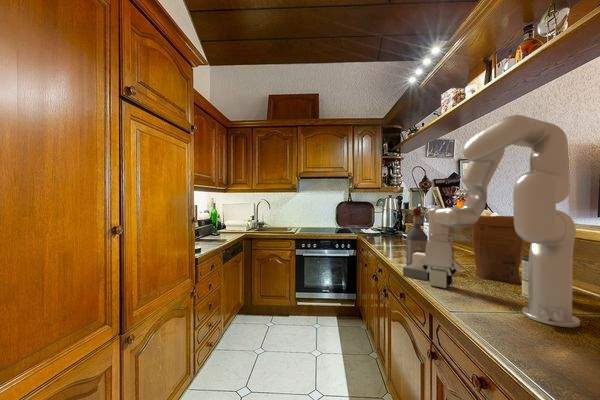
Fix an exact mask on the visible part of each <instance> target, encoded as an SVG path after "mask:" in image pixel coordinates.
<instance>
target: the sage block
mask: <svg viewBox="0 0 600 400" xmlns="http://www.w3.org/2000/svg"><path fill="white" fill-rule="evenodd" d="M447 275H448V273H447V271H446V268H441V267H439V268H432V269H430V270H429V281H428V283H429V284H428V285H429V286H431V287H437V288H443V289H446V288H448V287H449V286H447Z"/></svg>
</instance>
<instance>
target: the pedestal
mask: <svg viewBox="0 0 600 400" xmlns="http://www.w3.org/2000/svg"><path fill="white" fill-rule="evenodd" d="M433 268H440V267H433ZM402 276H403V277H406V278H410V277H411V279H416V280H417V279H418V280H421V281H426V282H427V281H428V282H429V280H428V279H427V272H426V270H425V269H421V268H414V267H412V263H411V264H409V265H405V266H403V267H402Z"/></svg>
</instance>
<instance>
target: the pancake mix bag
mask: <svg viewBox="0 0 600 400" xmlns="http://www.w3.org/2000/svg"><path fill="white" fill-rule="evenodd" d="M471 239H472V240H471V241H472V248H473V255H474V257H473V258H474V263H475V268H476V269H475V274H474V276H476V277H477V278H479V279H485V280H490V281H497V282H498V281H499V282H505V283H512V284H519V283H522V279H521V277H520V265H521V256H522V249H523V243H524V240H523V239H521V238H520V237H519V236H518V234H517V233H516V230H515V227H514V215H513V216H512V215H493V216H489V215H481V216H480V218H479V219H478V221H477V222H476V223H475V224H473V225H472V226H471Z"/></svg>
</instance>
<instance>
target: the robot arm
mask: <svg viewBox="0 0 600 400" xmlns="http://www.w3.org/2000/svg"><path fill="white" fill-rule="evenodd" d="M568 142H569V141H568V137H567V134H566V132H565V131H564V129H562V128H561V127H560V126H558V125H556V124H554V123H552V122H551V123H550V122H547V121H543V120H539V119H536V118H533V117H528V116H525V115H522V114H513V115H509V116H506V117H504V118H502V119H500V120H498V121H497V122H495V123H493V124H492V125H490V126H489V127H487V128H485V129H483V130H481V131H480V132H479V133H477V134H475V135H473V136H472V137H471V138H470V139H469V140H467V142H466V143H465V144H464V146H463V150H462V154H463V157H464V158H465V159H466V160H468V161H469V162H468V164H467V166H466V169H465V171H464V173H463V174H462V177H461V181H462V183H463V184H464V185H465V187H466V189H467V197H466V199H465V202H464V204H463V206H460V207H459V206H456V207H453V206H452V207H431V208H430V209H429V210H428V241H427V245H426V252H425V257H424V258H423V259H422V260H421V261H419V263H420V265H421V266H423V268H424V269H425V270H426V272H427V279H428V280H429V270H430V269H432V268H433V267H439V268H440V269H446V271H447V273H448V275H447V286H448V287H450V286H451V285H452V284H453V275H454V274H455V273H456V272H458V271H459V270H460V269H461V268H462V265H461V264H460V263H459V262H457V260H456V259H455V251H454V245H453V242H452V241H454V240H455V236H453V235H451V234H450V232H451V231H450V230H451V229H450V228H464V227H465V228H468V227H472V225H473V224H475V223H476V222H477V221H478V219H479V218H480V216H482V213H483V211H484V210H485V208H486V204H487V201H488V187H489V184H490V183H491V180H492V178H493V176H494V174H495V173H496V171H497V169H498V167H499V165H500V163H501V161H502V159H503V157H504V154H505V152H506V148H508V147H509V146H512V145H513V146H520V147H524V148H530V149H531V153H530V156H529V167H530V168H529V171H528V172H525V173H524V174H522V175H521V176H519V177H518V179H517V180H516V181H515V184H514V186H513V190H512V191H513V193H512V195H513V197H512V201H513V216H514V227H515V230H516V233H517V234H518V236H519V237H520V238H521V239H523V242H526V243H527V244H528V243H530V244H529V251H528V255H529V296H528V298H527V299H528V302H527V303H528V306H525V307H524V306H523V307H522V308H521V313H522V314H523V315H524V316H525V317H527V318H528V319H531V320H534V321H535V322H538V323H541V324H546V325H550V326H555V327H561V328H562V327H563V328H577V327H579V326H580V325H581V320H580V319H579V317H577V316H575V315H573V265H574V263H573V262H574V260H573V259H574V256H573V255H574V245H575V239H576V223H575V221H574V220H573V218H572V217H571V216H570V215H569V214H567V213H566V212H564V211H561V210H558V209H557V204H560V203H562V202H563V201H565V200H566V199H567V198H568V197H569V194H570V190H571V187H570V186H571V185H570V164H569V143H568ZM424 262H425V263H424ZM425 264H426V265H425ZM427 265H428V266H427ZM454 266H455V268H453V269H452V267H454Z"/></svg>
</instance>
